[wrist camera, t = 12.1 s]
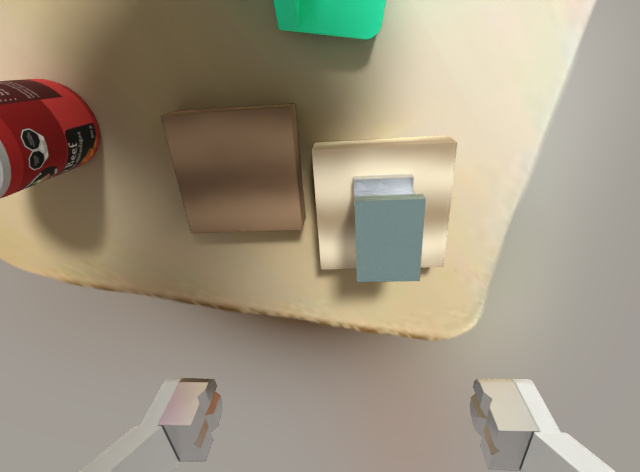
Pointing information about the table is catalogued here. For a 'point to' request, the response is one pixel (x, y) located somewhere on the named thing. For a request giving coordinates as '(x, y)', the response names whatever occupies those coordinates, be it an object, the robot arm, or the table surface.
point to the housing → (388, 228)
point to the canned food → (42, 132)
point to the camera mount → (331, 17)
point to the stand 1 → (238, 167)
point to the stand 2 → (381, 159)
